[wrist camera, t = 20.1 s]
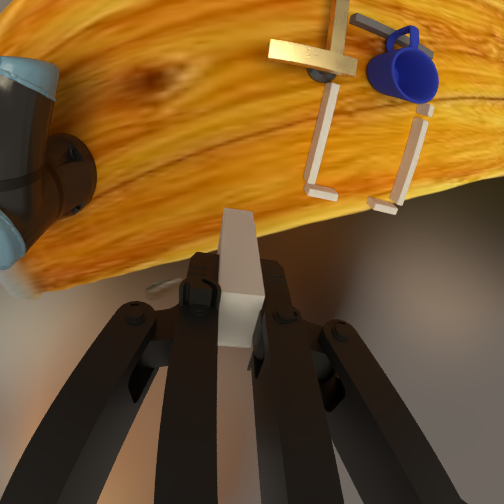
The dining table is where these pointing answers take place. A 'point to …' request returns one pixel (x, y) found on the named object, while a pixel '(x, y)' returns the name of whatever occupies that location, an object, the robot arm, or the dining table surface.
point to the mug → (404, 70)
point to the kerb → (384, 31)
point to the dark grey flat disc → (320, 76)
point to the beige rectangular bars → (405, 168)
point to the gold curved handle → (316, 57)
